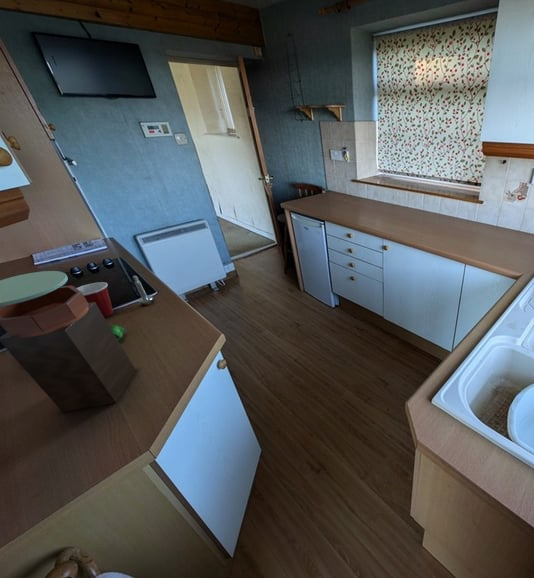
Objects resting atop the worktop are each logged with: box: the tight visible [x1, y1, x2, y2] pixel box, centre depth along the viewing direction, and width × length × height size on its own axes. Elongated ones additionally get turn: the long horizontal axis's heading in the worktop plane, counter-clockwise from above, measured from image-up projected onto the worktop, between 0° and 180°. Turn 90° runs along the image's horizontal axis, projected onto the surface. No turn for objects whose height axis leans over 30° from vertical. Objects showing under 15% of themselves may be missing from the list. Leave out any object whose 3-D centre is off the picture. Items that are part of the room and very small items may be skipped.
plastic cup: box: [75, 281, 114, 319], centre depth 109 cm, size 11×11×12 cm
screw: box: [132, 275, 154, 306], centre depth 116 cm, size 13×5×5 cm
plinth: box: [0, 285, 137, 413], centre depth 75 cm, size 14×14×30 cm
